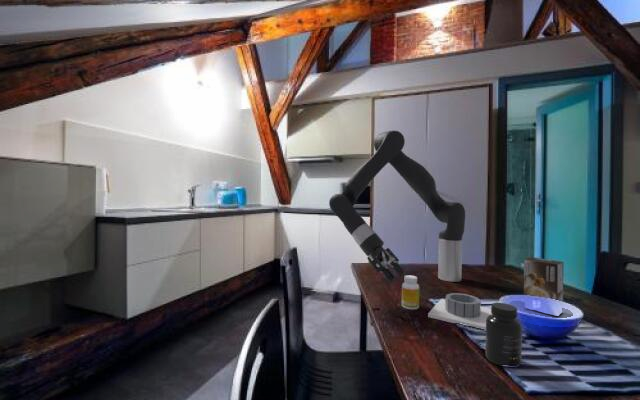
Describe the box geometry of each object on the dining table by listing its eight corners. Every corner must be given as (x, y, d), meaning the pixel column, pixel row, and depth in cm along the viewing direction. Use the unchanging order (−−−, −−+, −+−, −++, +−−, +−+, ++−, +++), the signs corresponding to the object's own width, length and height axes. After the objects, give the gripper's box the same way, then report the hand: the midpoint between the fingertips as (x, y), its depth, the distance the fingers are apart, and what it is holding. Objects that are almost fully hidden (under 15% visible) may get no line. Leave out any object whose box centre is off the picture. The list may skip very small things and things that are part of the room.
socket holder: (441, 301, 102) (441, 286, 102) (495, 312, 93) (495, 296, 93) (427, 316, 89) (428, 300, 89) (489, 331, 80) (489, 313, 80)
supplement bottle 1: (420, 310, 94) (420, 279, 94) (402, 309, 95) (402, 278, 95) (417, 304, 99) (418, 275, 99) (401, 303, 100) (401, 274, 100)
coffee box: (564, 313, 93) (565, 261, 93) (557, 318, 89) (559, 264, 89) (529, 304, 100) (530, 256, 100) (522, 308, 97) (523, 258, 96)
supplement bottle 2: (478, 352, 69) (479, 300, 69) (506, 351, 70) (507, 300, 70) (498, 369, 62) (499, 312, 62) (529, 368, 63) (530, 311, 63)
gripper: (365, 234, 99) (398, 275, 92) (382, 230, 110) (413, 266, 104) (350, 248, 102) (381, 289, 95) (369, 243, 113) (398, 279, 107)
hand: (398, 277), depth 99 cm, fingers open, 8 cm apart
